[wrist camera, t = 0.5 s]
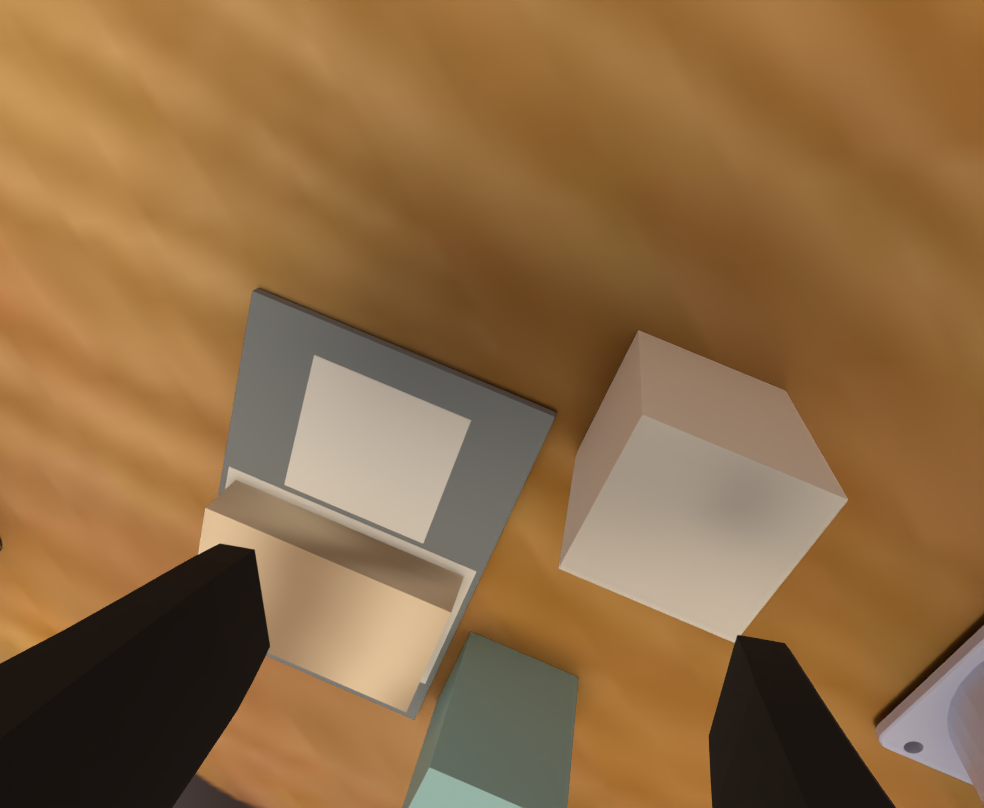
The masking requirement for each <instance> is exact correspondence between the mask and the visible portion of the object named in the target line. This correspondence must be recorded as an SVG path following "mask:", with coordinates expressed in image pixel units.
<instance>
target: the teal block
mask: <svg viewBox="0 0 984 808" xmlns="http://www.w3.org/2000/svg"><path fill="white" fill-rule="evenodd" d="M578 678H579V677H576V676H574V675H572V674H569V673H567V672H565V671H562V670H560V669H558V668H555V667H553V666H550V665H548V664H546V663H543V662H541V661H539V660H536V659H534V658H532V657H529V656H527V655H525V654H522V653H520V652H518V651H515V650H513V649H511V648H508V647H506V646H504V645H501V644H499V643H497V642H494V641H492V640H490V639H487V638H485V637H483V636H480V635H478V634H476V633H473V632H470V634H469V636H468V638H467V640H466V642H465V644H464V646H463V649H462V651H461V653H460V655H459V657H458V659H457V661H456V663H455V665H454V667H453V669H452V671H451V673H450V675H449V678H448V680H447V682H446V684H445V686H444V688H443V690H442V692H441V694H440V696H439V698H438V700H437V703H436V706H435V709H434V712H433V715H432V718H431V721H430V724H429V727H428V730H427V734H426V737H425V740H424V743H423V746H422V749H421V752H420V755H419V758H418V761H417V764H416V767H415V770H414V773H413V776H412V780H411V783H410V786H409V789H408V792H407V795H406V798H405V801H404V804H403V807H402V808H567V804H568V793H569V781H570V770H571V758H572V747H573V736H574V724H575V713H576V701H577V690H578Z"/></svg>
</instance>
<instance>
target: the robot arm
mask: <svg viewBox="0 0 984 808" xmlns="http://www.w3.org/2000/svg"><path fill="white" fill-rule="evenodd" d="M269 648H270V642H269V635H268V629H267V623H266V617H265V610H264V604H263V598H262V591H261V585H260V579H259V573H258V566H257V560H256V554H255V549H249V548H243V547H238V546H232V545H226V544H221V543H220V544H218V545H216V546H214V547H212V548H210V549H208V550H206V551H204V552H202V553H200V554H198V555H196V556H195V557H193V558H191V559H189V560H187V561H186V562H184V563H182V564H180V565H178V566H177V567H175V568H173V569H171V570H170V571H168V572H166V573H164V574H163V575H161V576H159V577H157V578H156V579H154V580H152V581H150V582H149V583H147V584H145V585H143V586H142V587H140V588H138V589H136V590H135V591H133V592H131V593H129V594H128V595H126V596H124V597H122V598H121V599H119V600H117V601H115V602H113V603H112V604H110V605H108V606H106V607H105V608H103V609H101V610H99V611H97V612H96V613H94V614H92V615H90V616H89V617H87V618H85V619H83V620H81V621H80V622H78V623H76V624H74V625H73V626H71V627H69V628H67V629H65V630H63V631H62V632H60V633H58V634H56V635H54V636H52V637H50V638H48V639H46V640H44V641H43V642H41V643H39V644H37V645H35V646H33V647H31V648H29V649H27V650H25V651H24V652H22V653H20V654H18V655H16V656H14V657H12V658H10V659H8V660H6V661H4V662H3V663H1V664H0V808H172V807H173V806H174V804H175V803H176V801H177V800H178V798H179V797H180V795H181V794H182V792H183V791H184V789H185V788H186V786H187V785H188V783H189V782H190V780H191V779H192V777H193V776H194V775H195V773H196V772H197V770H198V769H199V767H200V766H201V764H202V763H203V761H204V760H205V758H206V757H207V755H208V754H209V752H210V751H211V749H212V748H213V746H214V745H215V743H216V742H217V740H218V739H219V737H220V736H221V734H222V733H223V731H224V730H225V728H226V727H227V725H228V724H229V722H230V721H231V719H232V718H233V716H234V714H235V713H236V711H237V710H238V708H239V706H240V704H241V703H242V701H243V699H244V697H245V695H246V693H247V691H248V689H249V688H250V686H251V684H252V682H253V680H254V678H255V676H256V674H257V672H258V670H259V668H260V666H261V664H262V662H263V660H264V658H265V656H266V654H267V652H268V650H269ZM876 735H877V737H878V740H879V742H880V743H881V745H882V746H883V747H885V748H887V749H889V750H891V751H894V752H896V753H898V754H901V755H903V756H905V757H908V758H910V759H912V760H915V761H917V762H919V763H922V764H924V765H927V766H929V767H931V768H934V769H936V770H938V771H941V772H943V773H945V774H948V775H950V776H952V777H955V778H957V779H960V780H962V781H964V782H967V783H969V784H971V785H974V787H975V789H976V791H977V793H978V795H979V797H980V799H981V801H982V803H983V805H984V625H983V626H982V627H981V628H980V629H979V630H978V631H977V632H976V633H975V634H974V635H973V636H972V637H971V638H970V639H968V640H967V641H966V642H965V643H964V644H963V645H962V646H961V647H960V648H959V649H958V650H957V651H956V652H955V653H954V654H952V655H951V656H950V657H949V658H948V659H947V660H946V661H945V662H944V663H943V664H942V665H941V666H940V667H939V668H938V669H937V670H935V671H934V672H933V673H932V674H931V675H930V676H929V677H928V678H927V679H926V680H925V681H924V682H923V683H922V684H921V685H920V686H918V687H917V688H916V689H915V690H914V691H913V692H912V693H911V694H910V695H909V696H908V697H907V698H906V699H905V700H904V701H903V702H901V703H900V704H899V705H898V706H897V707H896V708H895V709H894V710H893V711H892V712H891V713H890V714H889V715H888V716H887V717H885V718H884V719H883V720H882V721H881V722H880V723H879V724H878V726H877V727H876ZM709 752H710V774H711V792H712V808H896V807H895V806H894V804H893V803H892V801H891V800H890V799H889V797H888V796H887V794H886V793H885V792H884V790H883V789H882V787H881V786H880V785H879V783H878V782H877V780H876V779H875V777H874V776H873V775H872V773H871V772H870V770H869V769H868V767H867V766H866V765H865V763H864V762H863V760H862V759H861V757H860V756H859V754H858V753H857V751H856V750H855V748H854V747H853V746H852V744H851V743H850V741H849V740H848V738H847V737H846V735H845V734H844V732H843V731H842V729H841V728H840V726H839V725H838V723H837V722H836V720H835V718H834V717H833V715H832V714H831V712H830V711H829V709H828V708H827V706H826V705H825V703H824V702H823V700H822V699H821V697H820V696H819V694H818V692H817V691H816V689H815V688H814V686H813V685H812V683H811V682H810V680H809V678H808V677H807V675H806V674H805V672H804V671H803V669H802V668H801V666H800V664H799V663H798V661H797V660H796V658H795V657H794V655H793V654H792V652H791V651H790V649H789V648H788V647H787V645H786V644H785V643H780V642H775V641H769V640H764V639H758V638H752V637H747V636H741V635H737V637H736V641H735V645H734V648H733V652H732V655H731V659H730V662H729V666H728V670H727V673H726V677H725V680H724V684H723V687H722V691H721V695H720V698H719V702H718V705H717V709H716V712H715V716H714V720H713V723H712V727H711V730H710V734H709Z"/></svg>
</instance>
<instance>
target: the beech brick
mask: <svg viewBox="0 0 984 808" xmlns="http://www.w3.org/2000/svg"><path fill="white" fill-rule="evenodd" d="M220 543H221V544H226V545H232V546H238V547H243V548H249V549H255V554H256V560H257V566H258V573H259V579H260V585H261V591H262V598H263V604H264V610H265V617H266V623H267V629H268V635H269V642H270V648H269V650H268V652H267V653H270V654H272V655H274V656H276V657H279V658H281V659H283V660H286V661H288V662H290V663H293V664H295V665H297V666H300V667H302V668H304V669H307V670H309V671H311V672H314V673H316V674H318V675H321V676H323V677H325V678H327V679H330V680H332V681H334V682H337V683H339V684H341V685H344V686H346V687H348V688H351V689H353V690H355V691H358V692H360V693H362V694H365V695H367V696H369V697H372V698H374V699H376V700H378V701H381V702H383V703H385V704H388V705H390V706H392V707H395V708H397V709H399V710H402V711H404V712H407V709H408V707H409V705H410V703H411V701H412V698H413V696H414V694H415V692H416V690H417V687H418V685H419V683H420V681H421V678H422V676H423V674H424V672H425V670H426V667H427V665H428V663H429V661H430V658H431V656H432V654H433V652H434V650H435V647H436V645H437V643H438V641H439V638H440V636H441V634H442V632H443V630H444V627H445V625H446V623H447V621H448V619H449V616H450V614H451V612H452V609H453V606H454V603H455V600H456V598H457V595H458V592H459V589H460V586H461V584H462V581H463V578H464V577H463V576H461V575H459V574H456V573H454V572H452V571H449V570H447V569H445V568H442V567H440V566H438V565H435V564H433V563H430V562H428V561H426V560H423V559H421V558H419V557H416V556H414V555H412V554H409V553H407V552H405V551H402V550H400V549H397V548H395V547H393V546H390V545H388V544H386V543H383V542H381V541H379V540H376V539H374V538H372V537H369V536H367V535H365V534H362V533H360V532H357V531H355V530H353V529H350V528H348V527H346V526H343V525H341V524H339V523H336V522H334V521H332V520H329V519H327V518H325V517H322V516H320V515H317V514H315V513H313V512H310V511H308V510H306V509H303V508H301V507H299V506H296V505H294V504H292V503H289V502H287V501H284V500H282V499H280V498H277V497H275V496H273V495H270V494H268V493H266V492H263V491H261V490H259V489H256V488H254V487H252V486H249V485H247V484H244V483H242V482H240V481H237V480H235V481H234V482H233V483H232V484H231V485H230V486H228V487H227V488H226V489H225V490H224V491H223V492H222V493H221V494H220V495H219V496H218V497H217V498H216V499H214V500H213V501H212V502H211V503H210V504H209V505H208V506H207V507H206V508H205V514H204V520H203V527H202V533H201V539H200V546H199V552H198V554H200V553H202V552H204V551H206V550H208V549H210V548H212V547H214V546H216V545H218V544H220Z"/></svg>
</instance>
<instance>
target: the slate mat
mask: <svg viewBox="0 0 984 808" xmlns="http://www.w3.org/2000/svg"><path fill="white" fill-rule="evenodd" d="M556 413H557V412H554V411H552V410H550V409H547V408H545V407H542V406H540V405H538V404H535V403H533V402H530V401H528V400H526V399H523V398H521V397H518V396H516V395H514V394H511V393H509V392H506V391H504V390H502V389H499V388H497V387H494V386H492V385H490V384H487V383H485V382H482V381H480V380H478V379H475V378H473V377H470V376H468V375H466V374H463V373H461V372H458V371H456V370H454V369H451V368H449V367H446V366H444V365H442V364H439V363H437V362H434V361H432V360H430V359H427V358H425V357H422V356H420V355H418V354H415V353H413V352H410V351H408V350H405V349H403V348H401V347H398V346H396V345H393V344H391V343H389V342H386V341H384V340H381V339H379V338H377V337H374V336H372V335H369V334H367V333H365V332H362V331H360V330H357V329H355V328H353V327H350V326H348V325H345V324H343V323H341V322H338V321H336V320H333V319H331V318H329V317H326V316H324V315H321V314H319V313H317V312H314V311H312V310H309V309H307V308H305V307H302V306H300V305H297V304H295V303H293V302H290V301H288V300H285V299H283V298H281V297H278V296H276V295H273V294H271V293H269V292H266V291H264V290H261V289H259V288H258V289H256V290H253V291H252V297H251V303H250V309H249V315H248V321H247V327H246V333H245V339H244V344H243V350H242V356H241V362H240V368H239V374H238V380H237V386H236V392H235V398H234V404H233V410H232V416H231V422H230V428H229V434H228V440H227V446H226V452H225V458H224V464H223V470H222V476H221V482H220V488H219V494H218V496H219V495H220V494H221V493H222V492H223V491H224V490H225V489H226V488H227V487H228V486H230V485H231V484H232V483H233V482H234V481H235V480H237V481H240V482H242V483H244V484H247V485H249V486H252V487H254V488H256V489H259V490H261V491H263V492H266V493H268V494H270V495H273V496H275V497H277V498H280V499H282V500H284V501H287V502H289V503H292V504H294V505H296V506H299V507H301V508H303V509H306V510H308V511H310V512H313V513H315V514H317V515H320V516H322V517H325V518H327V519H329V520H332V521H334V522H336V523H339V524H341V525H343V526H346V527H348V528H350V529H353V530H355V531H357V532H360V533H362V534H365V535H367V536H369V537H372V538H374V539H376V540H379V541H381V542H383V543H386V544H388V545H390V546H393V547H395V548H397V549H400V550H402V551H405V552H407V553H409V554H412V555H414V556H416V557H419V558H421V559H423V560H426V561H428V562H430V563H433V564H435V565H438V566H440V567H442V568H445V569H447V570H449V571H452V572H454V573H456V574H459V575H461V576H463V577H464V578H463V581H462V584H461V586H460V589H459V592H458V595H457V598H456V600H455V603H454V606H453V609H452V612H451V614H450V616H449V619H448V621H447V623H446V625H445V627H444V630H443V632H442V634H441V636H440V638H439V641H438V643H437V645H436V647H435V650H434V652H433V654H432V656H431V658H430V661H429V663H428V665H427V667H426V670H425V672H424V674H423V676H422V678H421V681H420V683H419V685H418V687H417V690H416V692H415V694H414V696H413V698H412V701H411V703H410V705H409V707H408V709H407V712H404V711H402V710H399V709H397V708H395V707H392V706H390V705H388V704H385V703H383V702H381V701H378V700H376V699H374V698H372V697H369V696H367V695H365V694H362V693H360V692H358V691H355V690H353V689H351V688H348V687H346V686H344V685H341V684H339V683H337V682H334V681H332V680H330V679H327V678H325V677H323V676H321V675H318V674H316V673H314V672H311V671H309V670H307V669H304V668H302V667H300V666H297V665H295V664H293V663H290V662H288V661H286V660H283V659H281V658H279V657H276V656H274V655H272V654H270V653H267V654H266V656H267V657H270V658H272V659H274V660H277V661H279V662H281V663H284V664H286V665H288V666H291V667H293V668H295V669H298V670H300V671H302V672H304V673H307V674H309V675H311V676H314V677H316V678H318V679H321V680H323V681H325V682H328V683H330V684H332V685H335V686H337V687H339V688H342V689H344V690H346V691H348V692H351V693H353V694H355V695H358V696H360V697H362V698H365V699H367V700H369V701H372V702H374V703H376V704H379V705H381V706H383V707H386V708H388V709H390V710H392V711H395V712H397V713H399V714H402V715H404V716H406V717H409V718H411V719H413V720H415V718H416V716H417V713H418V711H419V709H420V707H421V705H422V703H423V701H424V698H425V696H426V694H427V692H428V690H429V688H430V686H431V683H432V681H433V679H434V677H435V675H436V673H437V670H438V668H439V666H440V664H441V662H442V660H443V658H444V655H445V653H446V651H447V649H448V647H449V645H450V643H451V640H452V638H453V636H454V634H455V632H456V630H457V628H458V625H459V623H460V621H461V619H462V617H463V615H464V612H465V610H466V608H467V606H468V604H469V602H470V600H471V597H472V595H473V593H474V591H475V589H476V587H477V585H478V582H479V580H480V578H481V576H482V574H483V572H484V570H485V567H486V565H487V563H488V561H489V559H490V557H491V554H492V552H493V550H494V548H495V546H496V544H497V542H498V539H499V537H500V535H501V533H502V531H503V529H504V527H505V524H506V522H507V520H508V518H509V516H510V514H511V512H512V509H513V507H514V505H515V503H516V501H517V499H518V497H519V494H520V492H521V490H522V488H523V486H524V484H525V481H526V479H527V477H528V475H529V473H530V471H531V469H532V466H533V464H534V462H535V460H536V458H537V456H538V454H539V451H540V449H541V447H542V445H543V443H544V441H545V439H546V436H547V434H548V432H549V430H550V428H551V426H552V423H553V421H554V419H555V417H556Z"/></svg>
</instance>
